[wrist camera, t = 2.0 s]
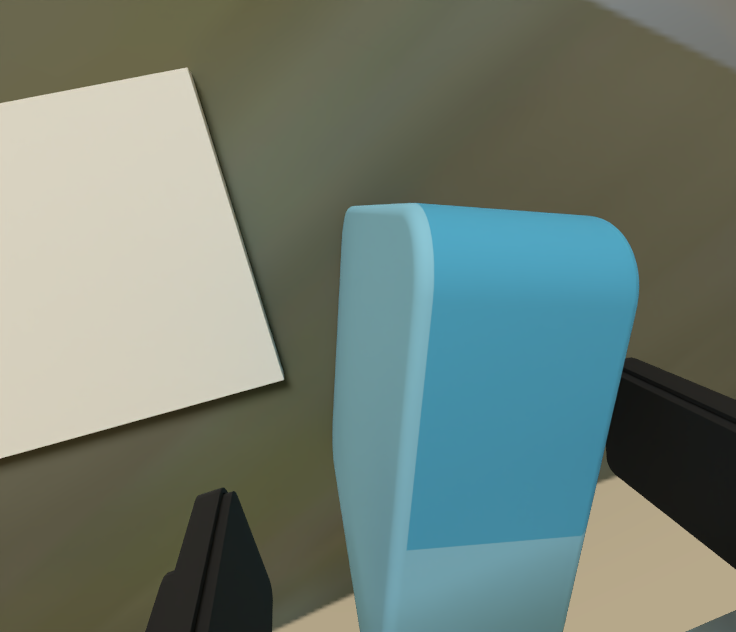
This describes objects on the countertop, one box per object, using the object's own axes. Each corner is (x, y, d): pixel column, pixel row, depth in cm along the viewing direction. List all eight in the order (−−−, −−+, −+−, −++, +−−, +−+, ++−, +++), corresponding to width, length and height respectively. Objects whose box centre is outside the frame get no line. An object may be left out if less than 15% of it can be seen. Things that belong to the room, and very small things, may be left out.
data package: (416, 446, 22) (550, 709, 10) (330, 449, 21) (374, 738, 9) (440, 212, 19) (665, 218, 7) (342, 205, 18) (425, 200, 7)
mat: (191, 72, 16) (187, 67, 15) (284, 374, 19) (284, 379, 19) (-344, 175, 14) (-370, 174, 13) (-129, 488, 18) (-143, 498, 17)
